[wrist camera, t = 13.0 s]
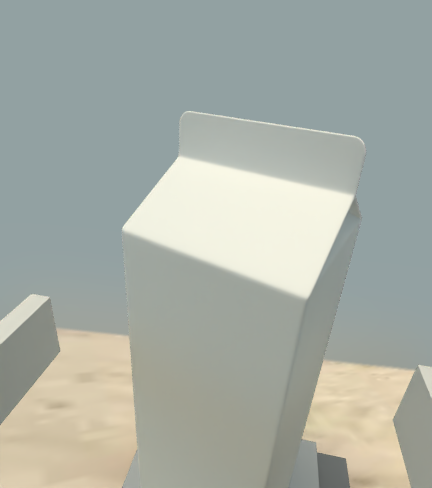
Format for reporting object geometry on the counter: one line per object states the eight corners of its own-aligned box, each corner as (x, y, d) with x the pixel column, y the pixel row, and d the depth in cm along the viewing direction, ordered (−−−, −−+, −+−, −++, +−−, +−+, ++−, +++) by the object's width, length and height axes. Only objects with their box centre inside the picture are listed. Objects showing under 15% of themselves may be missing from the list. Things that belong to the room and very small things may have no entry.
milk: (202, 449, 24) (225, 103, 14) (285, 504, 21) (389, 124, 11) (141, 539, 19) (109, 117, 9) (238, 623, 17) (341, 158, 7)
